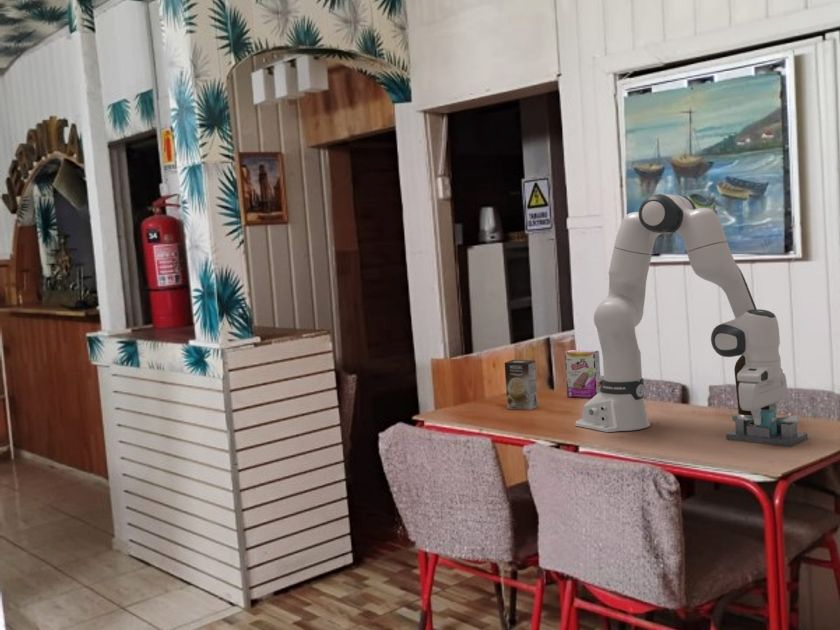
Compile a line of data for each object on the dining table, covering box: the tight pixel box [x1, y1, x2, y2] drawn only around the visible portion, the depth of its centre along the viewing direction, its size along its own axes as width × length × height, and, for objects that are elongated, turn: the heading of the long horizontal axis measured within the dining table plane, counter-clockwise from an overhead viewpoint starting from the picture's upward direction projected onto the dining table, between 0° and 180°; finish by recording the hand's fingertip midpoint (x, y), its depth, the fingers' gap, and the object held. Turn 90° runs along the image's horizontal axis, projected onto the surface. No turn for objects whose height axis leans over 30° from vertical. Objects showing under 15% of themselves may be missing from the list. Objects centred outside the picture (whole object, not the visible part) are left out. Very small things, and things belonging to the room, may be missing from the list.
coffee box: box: [504, 359, 539, 411], centre depth 319 cm, size 9×6×16 cm
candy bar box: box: [564, 349, 602, 399], centre depth 330 cm, size 11×5×16 cm, turn 59°
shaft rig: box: [725, 413, 808, 448], centre depth 252 cm, size 18×10×7 cm, turn 43°
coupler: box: [754, 410, 777, 435], centre depth 252 cm, size 5×4×6 cm
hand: (765, 421), depth 252 cm, fingers open, 6 cm apart
